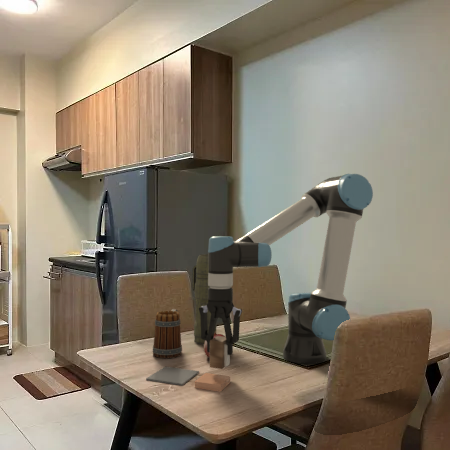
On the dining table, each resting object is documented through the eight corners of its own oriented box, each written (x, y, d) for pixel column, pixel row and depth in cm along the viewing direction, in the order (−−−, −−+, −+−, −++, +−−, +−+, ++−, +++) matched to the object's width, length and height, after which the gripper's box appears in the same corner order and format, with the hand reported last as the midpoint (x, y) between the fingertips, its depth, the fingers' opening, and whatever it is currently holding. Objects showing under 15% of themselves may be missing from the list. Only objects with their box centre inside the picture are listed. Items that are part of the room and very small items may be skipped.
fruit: (232, 355, 157) (233, 327, 157) (224, 363, 148) (224, 333, 148) (209, 352, 160) (209, 325, 160) (199, 360, 151) (199, 331, 151)
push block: (229, 363, 134) (229, 337, 134) (222, 369, 128) (222, 341, 128) (217, 361, 135) (217, 335, 135) (209, 367, 130) (209, 340, 130)
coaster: (199, 372, 137) (199, 371, 137) (182, 385, 126) (182, 383, 126) (165, 367, 142) (165, 366, 142) (146, 379, 130) (146, 378, 130)
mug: (176, 359, 150) (177, 316, 150) (148, 357, 152) (148, 314, 152) (189, 347, 166) (189, 308, 166) (163, 345, 168) (163, 306, 168)
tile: (230, 376, 129) (220, 385, 122) (230, 383, 129) (220, 392, 122) (205, 372, 132) (194, 381, 125) (205, 380, 132) (194, 388, 125)
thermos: (214, 345, 168) (215, 255, 168) (187, 342, 173) (188, 254, 173) (222, 340, 177) (224, 254, 177) (196, 337, 181) (197, 253, 181)
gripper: (251, 287, 132) (250, 364, 132) (199, 283, 138) (198, 357, 138) (243, 290, 125) (242, 371, 125) (189, 286, 131) (188, 364, 131)
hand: (219, 364), depth 132 cm, fingers closed on push block, 4 cm apart
